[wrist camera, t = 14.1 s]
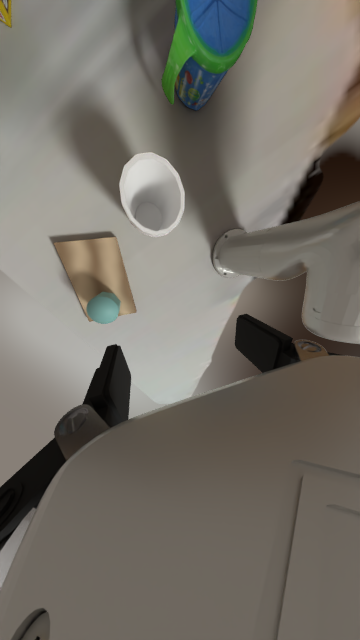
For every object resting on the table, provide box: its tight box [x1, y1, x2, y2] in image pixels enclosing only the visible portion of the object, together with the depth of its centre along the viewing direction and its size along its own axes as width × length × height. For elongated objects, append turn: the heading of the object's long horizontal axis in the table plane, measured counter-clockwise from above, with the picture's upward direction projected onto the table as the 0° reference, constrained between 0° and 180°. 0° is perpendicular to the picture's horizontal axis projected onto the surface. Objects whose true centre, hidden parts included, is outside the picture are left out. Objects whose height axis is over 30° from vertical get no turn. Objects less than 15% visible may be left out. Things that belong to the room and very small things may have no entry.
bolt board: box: [54, 237, 136, 322], centre depth 32 cm, size 12×18×6 cm, turn 6°
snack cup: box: [162, 0, 257, 110], centre depth 21 cm, size 16×10×10 cm
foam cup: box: [119, 152, 185, 237], centre depth 26 cm, size 10×9×13 cm
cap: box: [86, 292, 121, 324], centre depth 32 cm, size 6×6×5 cm
